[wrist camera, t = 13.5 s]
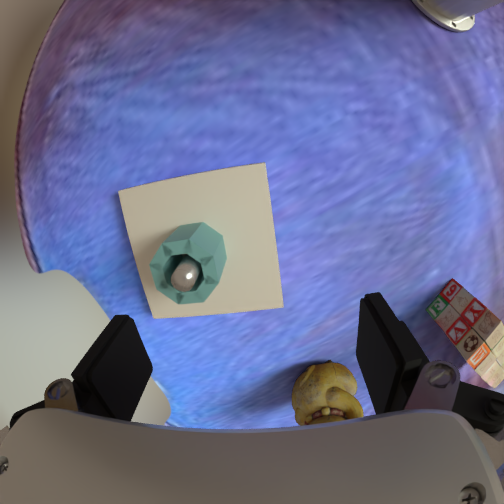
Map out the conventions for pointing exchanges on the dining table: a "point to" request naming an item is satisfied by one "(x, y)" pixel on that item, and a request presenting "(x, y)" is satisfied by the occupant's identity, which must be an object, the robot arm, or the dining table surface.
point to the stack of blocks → (471, 330)
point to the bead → (198, 247)
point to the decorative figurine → (325, 395)
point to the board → (221, 220)
